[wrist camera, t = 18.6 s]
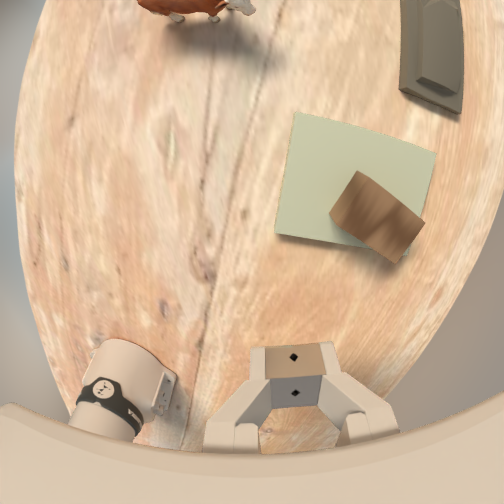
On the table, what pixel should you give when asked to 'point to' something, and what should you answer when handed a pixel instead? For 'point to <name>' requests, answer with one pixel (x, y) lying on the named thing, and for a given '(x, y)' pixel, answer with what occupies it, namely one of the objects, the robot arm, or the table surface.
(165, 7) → the bull figurine
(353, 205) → the block
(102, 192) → the table surface
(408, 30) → the soap mold
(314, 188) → the board
